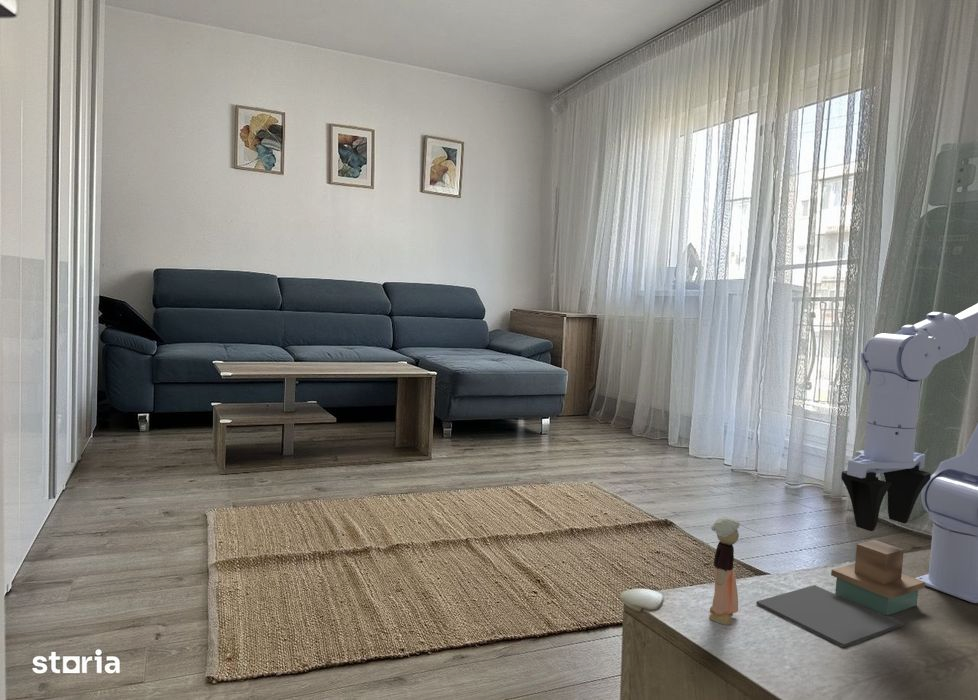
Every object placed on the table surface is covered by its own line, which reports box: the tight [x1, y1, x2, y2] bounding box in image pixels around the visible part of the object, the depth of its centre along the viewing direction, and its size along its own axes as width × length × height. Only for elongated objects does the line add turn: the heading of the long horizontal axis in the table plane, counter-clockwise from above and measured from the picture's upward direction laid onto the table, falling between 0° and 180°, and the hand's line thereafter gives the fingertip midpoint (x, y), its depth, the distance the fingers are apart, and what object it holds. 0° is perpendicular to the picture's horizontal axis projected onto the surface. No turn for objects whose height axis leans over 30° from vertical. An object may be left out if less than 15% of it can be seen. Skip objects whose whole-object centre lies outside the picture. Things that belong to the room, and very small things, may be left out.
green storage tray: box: [834, 577, 919, 616], centre depth 91 cm, size 7×7×2 cm
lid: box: [830, 539, 926, 599], centre depth 91 cm, size 8×8×5 cm
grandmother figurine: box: [708, 515, 741, 626], centre depth 84 cm, size 8×4×13 cm, turn 168°
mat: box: [755, 584, 903, 648], centre depth 86 cm, size 12×12×1 cm
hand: (881, 524), depth 90 cm, fingers open, 7 cm apart
